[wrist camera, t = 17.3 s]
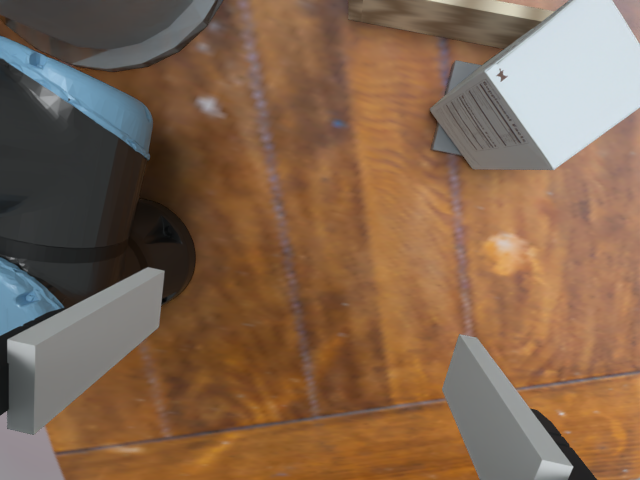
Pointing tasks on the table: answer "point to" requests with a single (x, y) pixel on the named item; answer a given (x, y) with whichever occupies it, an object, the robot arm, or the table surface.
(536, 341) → the table surface
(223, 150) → the table surface
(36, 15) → the grey streaked cylinder
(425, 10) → the shelf bay
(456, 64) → the plate
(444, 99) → the supplement box
